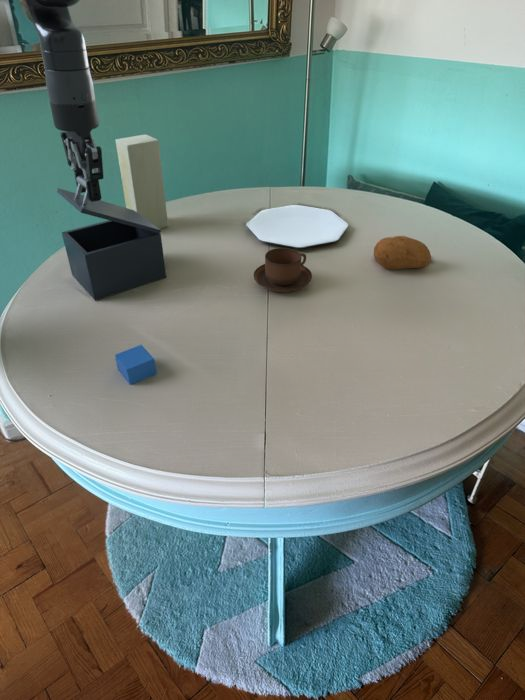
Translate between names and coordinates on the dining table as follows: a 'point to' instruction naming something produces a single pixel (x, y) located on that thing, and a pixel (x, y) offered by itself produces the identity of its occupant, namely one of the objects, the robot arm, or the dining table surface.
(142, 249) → the box
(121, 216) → the freezer lid
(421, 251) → the potato
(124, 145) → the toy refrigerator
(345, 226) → the plate
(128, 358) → the blue cube
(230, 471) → the dining table surface
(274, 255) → the cup and saucer
